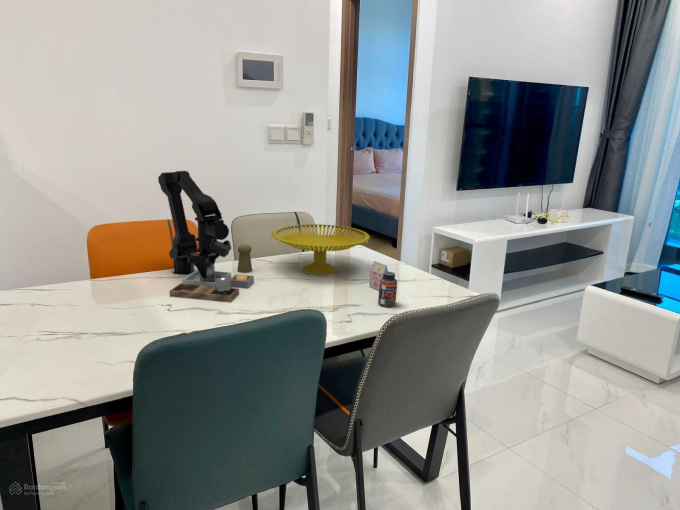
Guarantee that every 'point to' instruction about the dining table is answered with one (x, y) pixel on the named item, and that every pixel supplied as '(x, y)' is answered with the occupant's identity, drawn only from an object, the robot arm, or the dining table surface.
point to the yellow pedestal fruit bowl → (320, 243)
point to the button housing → (242, 282)
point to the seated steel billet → (223, 285)
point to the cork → (244, 259)
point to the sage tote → (190, 281)
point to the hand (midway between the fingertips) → (207, 276)
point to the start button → (241, 277)
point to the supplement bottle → (387, 290)
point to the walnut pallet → (201, 292)
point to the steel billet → (209, 273)
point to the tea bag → (377, 274)
